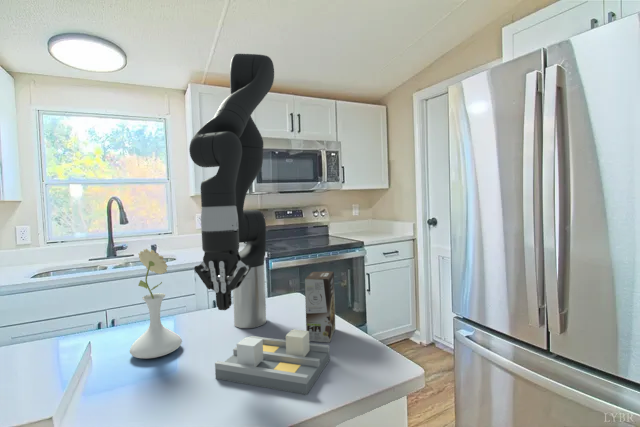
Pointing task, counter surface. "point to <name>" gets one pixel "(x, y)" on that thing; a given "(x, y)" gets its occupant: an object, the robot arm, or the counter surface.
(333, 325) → the coffee box
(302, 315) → the counter surface
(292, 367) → the grey ridged tray
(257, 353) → the pale grey cube
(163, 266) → the flower in vase
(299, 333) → the cream cube
